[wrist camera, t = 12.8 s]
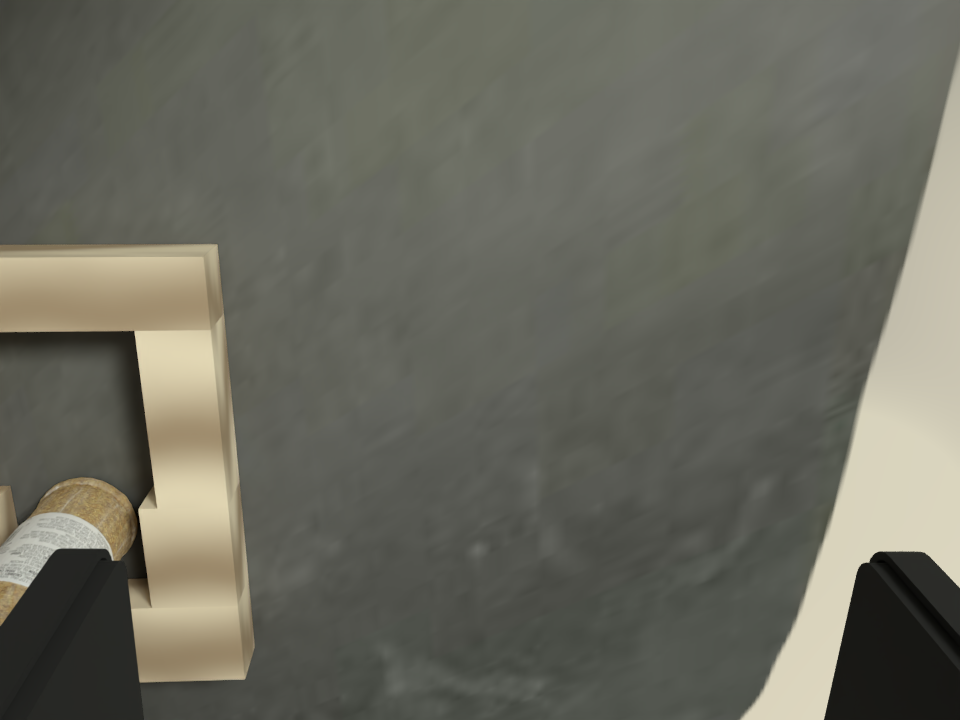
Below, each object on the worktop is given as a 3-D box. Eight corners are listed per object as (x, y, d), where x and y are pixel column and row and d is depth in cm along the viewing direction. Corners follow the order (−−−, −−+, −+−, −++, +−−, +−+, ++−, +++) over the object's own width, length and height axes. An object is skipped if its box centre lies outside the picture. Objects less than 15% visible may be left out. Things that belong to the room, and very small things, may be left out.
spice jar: (95, 577, 41) (-53, 809, 29) (17, 514, 40) (-173, 727, 27) (162, 519, 41) (40, 731, 28) (85, 452, 39) (-79, 644, 27)
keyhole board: (-132, 245, 36) (-169, 258, 34) (217, 244, 37) (203, 256, 34) (-39, 654, 42) (-66, 688, 40) (254, 646, 43) (244, 679, 41)
